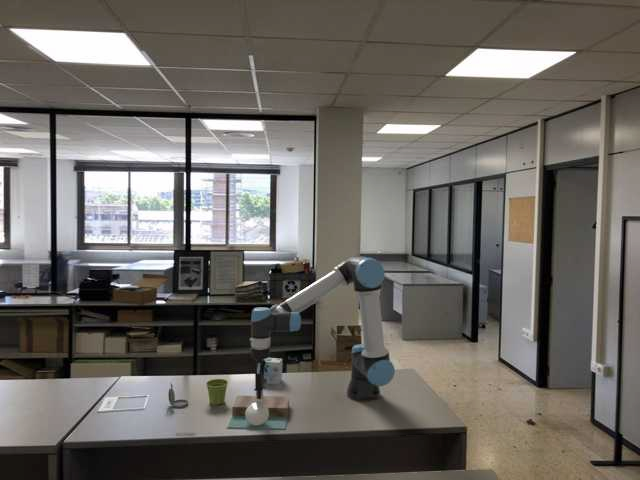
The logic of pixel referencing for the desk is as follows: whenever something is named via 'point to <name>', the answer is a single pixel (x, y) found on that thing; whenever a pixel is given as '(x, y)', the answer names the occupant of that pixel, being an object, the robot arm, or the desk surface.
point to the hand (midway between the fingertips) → (259, 405)
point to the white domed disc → (257, 414)
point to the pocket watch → (178, 402)
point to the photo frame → (111, 401)
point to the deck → (274, 404)
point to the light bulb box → (273, 371)
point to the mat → (271, 423)
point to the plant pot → (217, 390)
